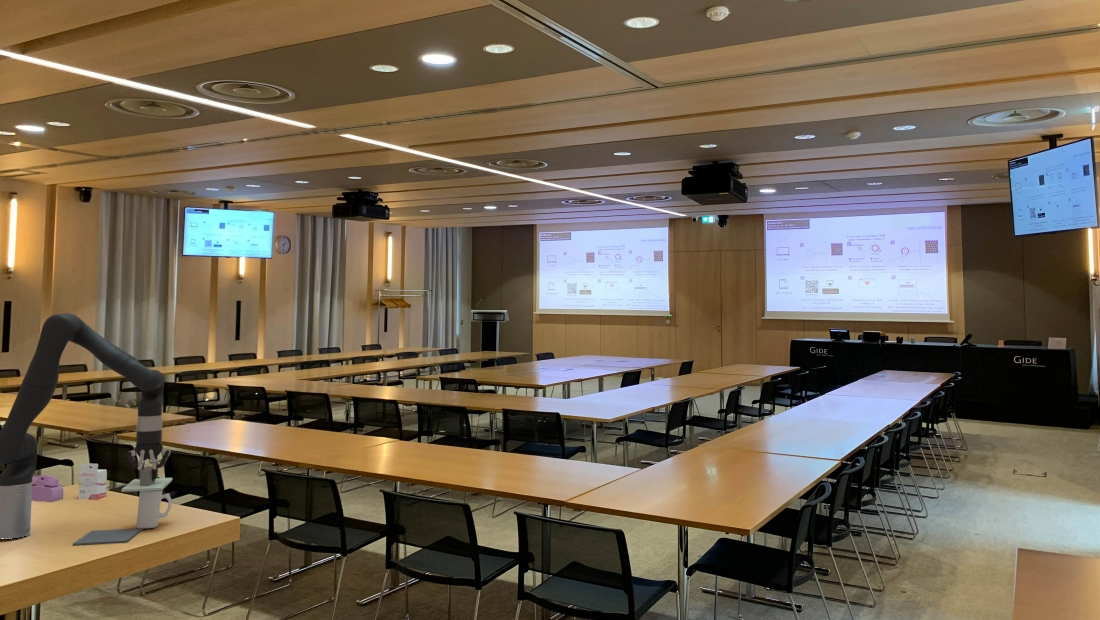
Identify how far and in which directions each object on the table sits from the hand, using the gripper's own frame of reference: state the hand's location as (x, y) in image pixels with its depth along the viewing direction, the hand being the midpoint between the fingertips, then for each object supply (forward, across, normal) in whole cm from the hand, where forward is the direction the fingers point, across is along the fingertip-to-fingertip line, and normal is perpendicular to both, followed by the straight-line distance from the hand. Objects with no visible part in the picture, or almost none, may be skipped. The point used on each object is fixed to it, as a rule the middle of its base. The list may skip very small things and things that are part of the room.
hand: (148, 480), depth 236 cm
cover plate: (+2, 0, 0) cm, 2 cm away
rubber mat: (+16, -8, -10) cm, 20 cm away
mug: (+16, +2, 0) cm, 16 cm away
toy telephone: (+16, -54, +54) cm, 78 cm away
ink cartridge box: (+16, -34, +50) cm, 63 cm away
